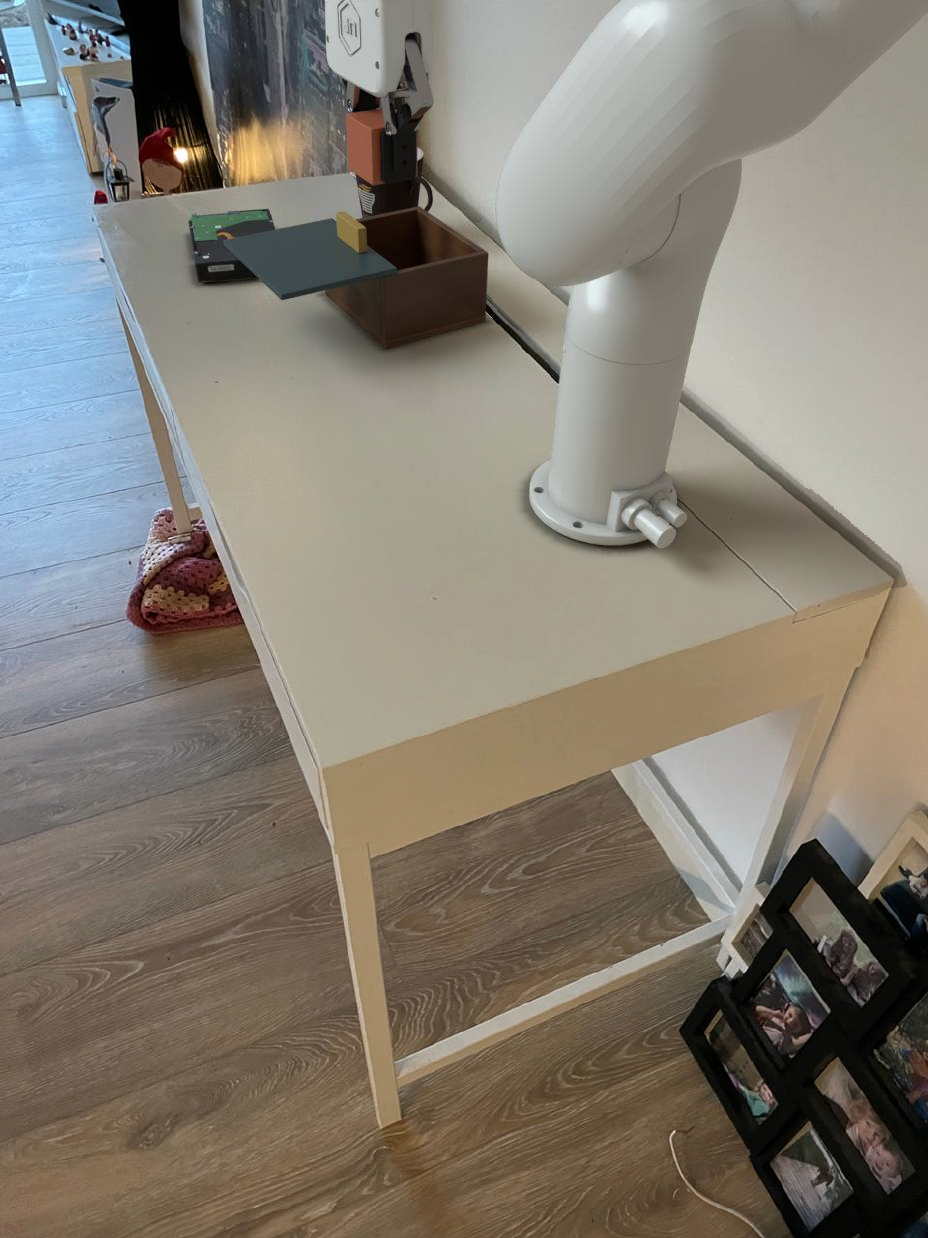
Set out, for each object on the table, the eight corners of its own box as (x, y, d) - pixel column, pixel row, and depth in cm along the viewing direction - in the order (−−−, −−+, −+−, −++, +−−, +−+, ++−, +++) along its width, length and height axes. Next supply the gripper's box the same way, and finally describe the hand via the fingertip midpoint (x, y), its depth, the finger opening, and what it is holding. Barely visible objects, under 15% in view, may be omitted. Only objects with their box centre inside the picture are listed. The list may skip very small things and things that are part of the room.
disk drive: (287, 278, 111) (271, 228, 121) (285, 255, 109) (269, 205, 119) (198, 286, 109) (189, 234, 119) (194, 263, 107) (185, 212, 117)
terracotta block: (417, 176, 83) (417, 121, 79) (373, 185, 81) (371, 129, 78) (391, 160, 85) (391, 106, 82) (347, 168, 83) (345, 113, 80)
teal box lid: (397, 273, 95) (396, 242, 93) (281, 300, 90) (278, 268, 88) (332, 223, 104) (330, 194, 101) (224, 245, 98) (219, 215, 96)
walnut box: (485, 321, 105) (488, 252, 99) (386, 348, 100) (383, 277, 94) (419, 272, 113) (419, 205, 108) (325, 294, 108) (319, 226, 103)
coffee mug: (349, 225, 123) (345, 143, 116) (413, 219, 125) (413, 139, 118) (370, 262, 115) (367, 177, 108) (438, 255, 117) (439, 171, 110)
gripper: (282, -102, 73) (301, 147, 86) (391, -62, 64) (395, 212, 76) (366, -106, 76) (373, 134, 89) (483, -69, 67) (472, 195, 80)
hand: (383, 168), depth 83 cm, fingers closed on terracotta block, 4 cm apart
